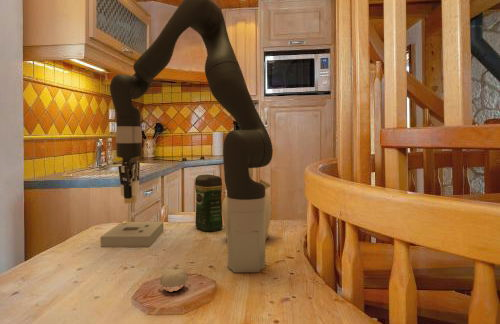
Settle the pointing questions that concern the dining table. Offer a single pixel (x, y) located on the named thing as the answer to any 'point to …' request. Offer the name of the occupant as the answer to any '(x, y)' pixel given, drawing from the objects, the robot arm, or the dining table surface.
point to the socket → (132, 234)
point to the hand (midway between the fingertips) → (130, 196)
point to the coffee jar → (208, 202)
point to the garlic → (174, 277)
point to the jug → (267, 206)
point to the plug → (134, 192)
